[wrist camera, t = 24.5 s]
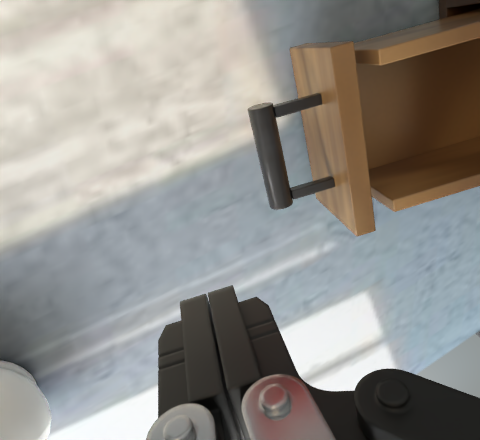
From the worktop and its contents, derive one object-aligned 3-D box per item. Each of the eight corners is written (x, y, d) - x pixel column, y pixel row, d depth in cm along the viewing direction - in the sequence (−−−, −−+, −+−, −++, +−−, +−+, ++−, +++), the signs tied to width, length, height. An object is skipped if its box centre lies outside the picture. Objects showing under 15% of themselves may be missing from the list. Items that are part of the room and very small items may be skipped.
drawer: (262, 214, 30) (289, 258, 24) (226, 65, 26) (247, 69, 19) (485, 147, 31) (567, 171, 25) (486, -7, 27) (585, -24, 21)
